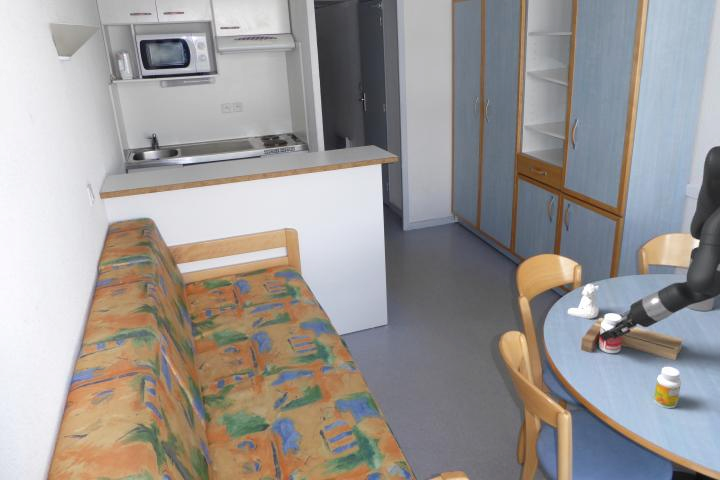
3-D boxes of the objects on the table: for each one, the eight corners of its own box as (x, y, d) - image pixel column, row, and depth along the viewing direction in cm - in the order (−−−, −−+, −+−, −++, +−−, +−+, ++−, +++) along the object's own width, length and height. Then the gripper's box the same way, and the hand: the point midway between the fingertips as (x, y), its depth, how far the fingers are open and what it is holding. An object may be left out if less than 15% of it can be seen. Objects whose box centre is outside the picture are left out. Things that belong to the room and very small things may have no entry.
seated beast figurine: (583, 305, 194) (586, 275, 190) (605, 315, 188) (609, 283, 183) (566, 314, 190) (568, 282, 185) (588, 324, 183) (591, 291, 178)
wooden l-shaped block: (599, 325, 181) (600, 314, 180) (681, 347, 167) (683, 336, 165) (580, 349, 169) (582, 338, 167) (667, 376, 154) (669, 364, 153)
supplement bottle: (649, 396, 147) (654, 366, 143) (668, 394, 147) (674, 364, 144) (661, 409, 142) (666, 378, 138) (681, 407, 142) (687, 376, 138)
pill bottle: (624, 349, 167) (628, 317, 163) (612, 356, 164) (616, 324, 160) (606, 340, 172) (609, 309, 168) (594, 347, 169) (597, 316, 165)
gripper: (650, 288, 162) (604, 313, 173) (637, 308, 152) (589, 333, 163) (667, 309, 161) (620, 332, 172) (655, 330, 150) (606, 354, 162)
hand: (605, 332), depth 168 cm, fingers closed on pill bottle, 6 cm apart
